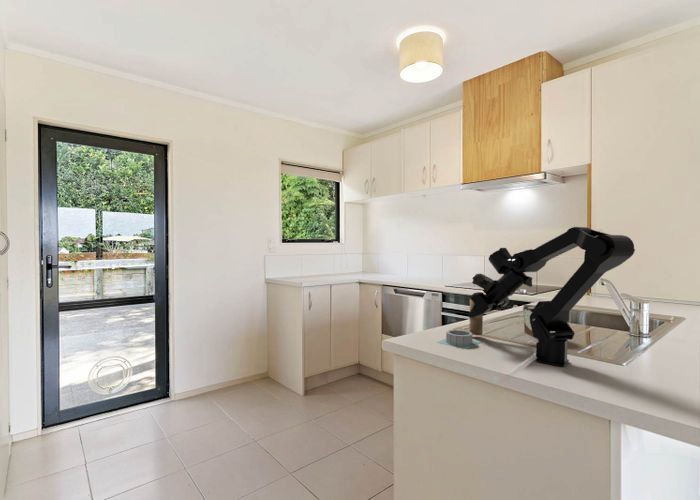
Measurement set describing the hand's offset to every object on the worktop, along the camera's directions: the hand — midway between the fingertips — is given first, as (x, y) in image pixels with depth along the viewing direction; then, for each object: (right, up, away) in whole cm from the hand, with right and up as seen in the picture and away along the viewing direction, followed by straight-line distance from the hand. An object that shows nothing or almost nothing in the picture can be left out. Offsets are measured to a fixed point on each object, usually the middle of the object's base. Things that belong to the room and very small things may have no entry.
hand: (472, 315), depth 118 cm
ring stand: (-7, -8, -7) cm, 13 cm away
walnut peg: (+1, -6, -1) cm, 6 cm away
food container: (+25, -8, +5) cm, 27 cm away
